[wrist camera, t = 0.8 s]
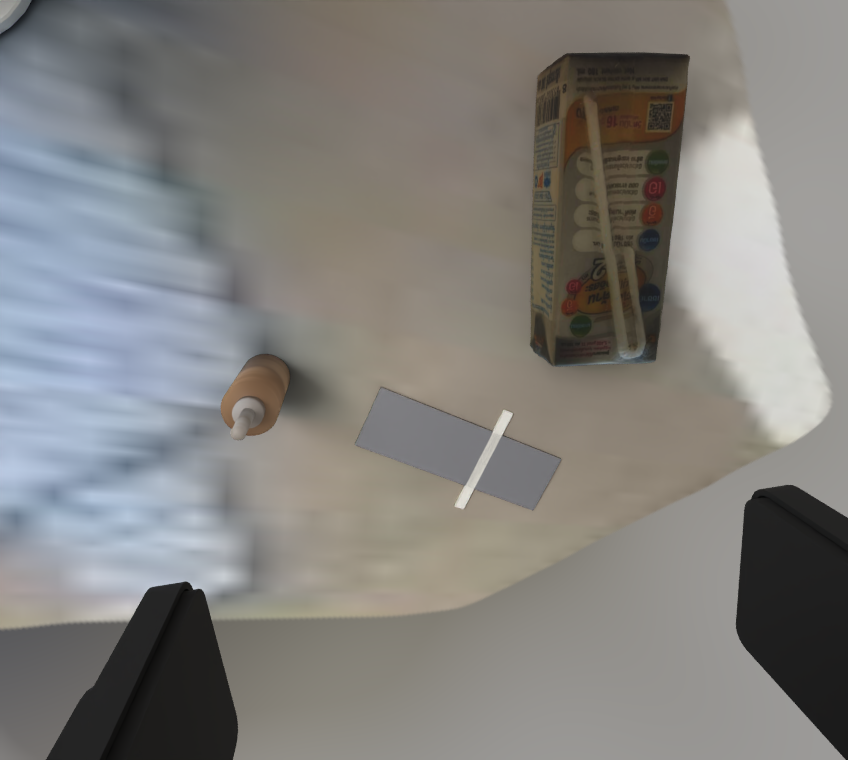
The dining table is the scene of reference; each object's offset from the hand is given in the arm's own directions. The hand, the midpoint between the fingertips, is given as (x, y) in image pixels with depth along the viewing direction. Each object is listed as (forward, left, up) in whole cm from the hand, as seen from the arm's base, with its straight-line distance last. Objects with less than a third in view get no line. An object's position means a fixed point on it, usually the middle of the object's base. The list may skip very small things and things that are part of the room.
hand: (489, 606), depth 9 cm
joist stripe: (+10, -8, -32) cm, 35 cm away
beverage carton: (+11, +11, -33) cm, 36 cm away
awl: (-6, -8, -32) cm, 34 cm away
